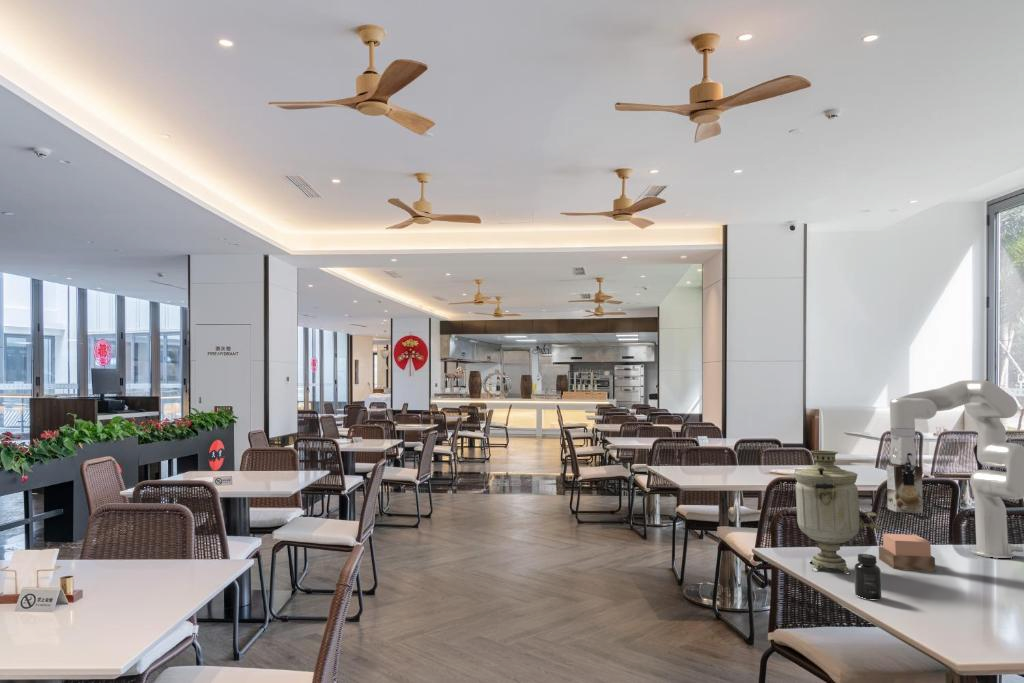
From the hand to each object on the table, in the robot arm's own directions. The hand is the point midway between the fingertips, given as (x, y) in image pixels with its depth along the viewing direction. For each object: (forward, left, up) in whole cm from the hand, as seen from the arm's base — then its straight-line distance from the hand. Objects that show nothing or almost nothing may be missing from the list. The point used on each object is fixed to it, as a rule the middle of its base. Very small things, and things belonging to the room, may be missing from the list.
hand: (904, 483), depth 226 cm
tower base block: (0, 0, -29) cm, 29 cm away
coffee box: (0, 0, -10) cm, 10 cm away
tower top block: (0, 0, -24) cm, 24 cm away
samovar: (+27, +13, -29) cm, 41 cm away
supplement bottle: (+27, +41, -29) cm, 57 cm away
